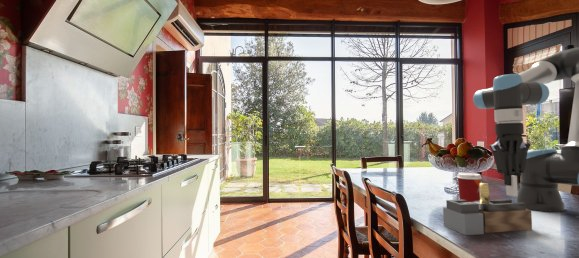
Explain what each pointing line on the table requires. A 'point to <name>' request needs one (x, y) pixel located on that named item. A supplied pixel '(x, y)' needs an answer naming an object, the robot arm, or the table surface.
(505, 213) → the door
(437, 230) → the table surface
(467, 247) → the table surface
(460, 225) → the bracket
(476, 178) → the coffee cup
